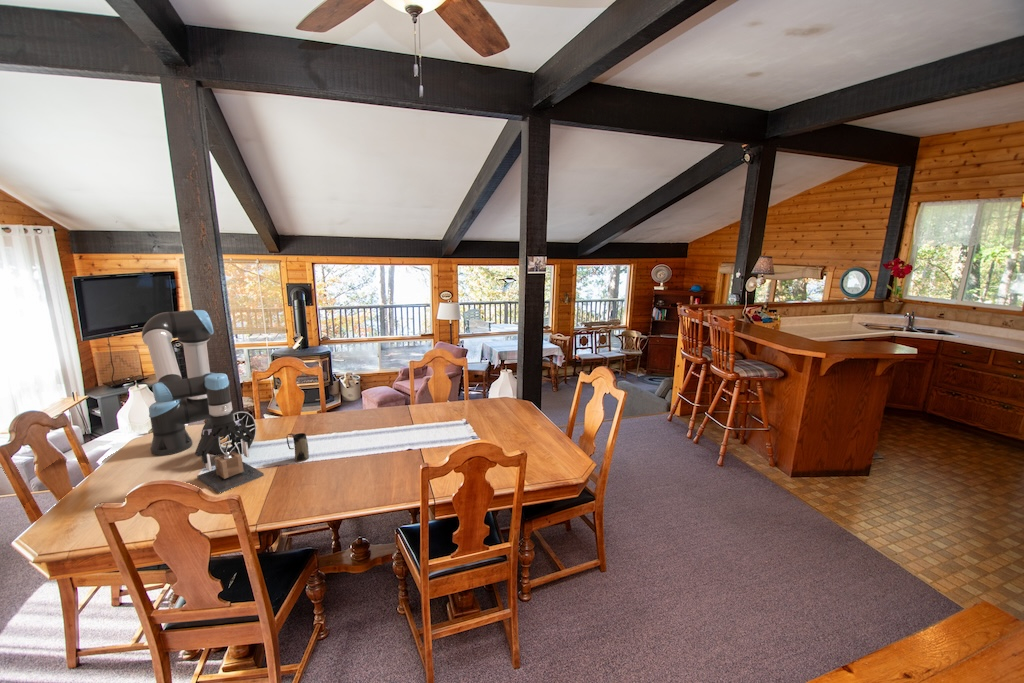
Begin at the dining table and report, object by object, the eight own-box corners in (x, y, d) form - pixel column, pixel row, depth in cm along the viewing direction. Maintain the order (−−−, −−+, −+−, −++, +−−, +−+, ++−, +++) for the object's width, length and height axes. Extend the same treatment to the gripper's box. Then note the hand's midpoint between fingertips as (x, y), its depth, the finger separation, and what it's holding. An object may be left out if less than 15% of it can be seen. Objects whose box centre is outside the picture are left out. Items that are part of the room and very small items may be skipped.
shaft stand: (197, 478, 169) (193, 453, 167) (240, 462, 182) (237, 439, 180) (219, 493, 158) (215, 467, 156) (263, 475, 171) (260, 451, 169)
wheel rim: (222, 465, 180) (215, 421, 176) (204, 463, 182) (197, 419, 178) (258, 445, 199) (253, 405, 195) (242, 443, 201) (236, 403, 197)
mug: (310, 455, 189) (307, 430, 186) (307, 461, 184) (304, 435, 181) (291, 457, 187) (288, 431, 185) (287, 463, 182) (284, 436, 180)
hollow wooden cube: (216, 473, 169) (214, 457, 168) (235, 466, 175) (233, 451, 173) (224, 478, 165) (221, 462, 164) (243, 471, 171) (241, 455, 169)
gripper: (187, 425, 153) (196, 479, 157) (259, 405, 173) (265, 453, 177) (179, 421, 157) (187, 473, 161) (250, 402, 177) (256, 448, 182)
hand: (228, 463), depth 169 cm, fingers open, 13 cm apart
